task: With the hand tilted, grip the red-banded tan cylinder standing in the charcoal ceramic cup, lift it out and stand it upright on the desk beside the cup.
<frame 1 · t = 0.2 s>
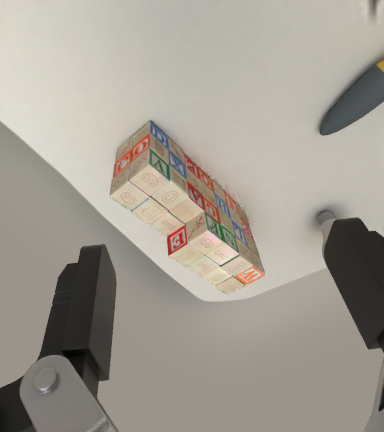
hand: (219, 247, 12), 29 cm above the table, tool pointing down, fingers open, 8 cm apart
stack of blocks: (187, 183, 47), on the table
lightbulb: (323, 212, 53), on the table
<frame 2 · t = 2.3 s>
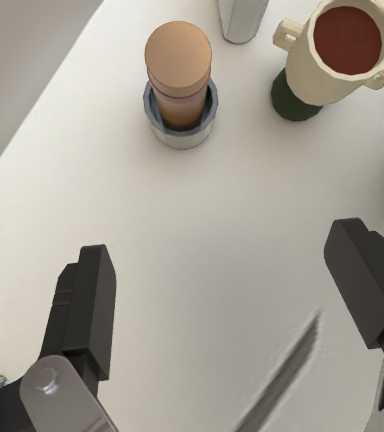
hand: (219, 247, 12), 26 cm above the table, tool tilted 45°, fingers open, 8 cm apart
red-banded tan cylinder: (181, 117, 37), resting on cup
photo printer: (234, 1, 38), on the table
character mug: (295, 95, 38), on the table
cup: (181, 119, 38), on the table
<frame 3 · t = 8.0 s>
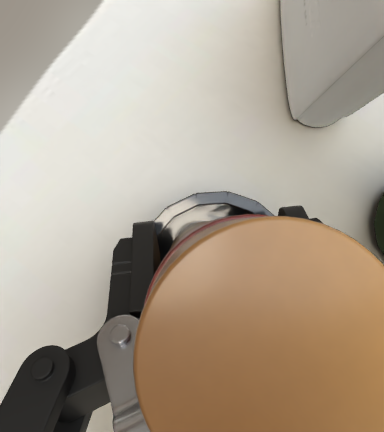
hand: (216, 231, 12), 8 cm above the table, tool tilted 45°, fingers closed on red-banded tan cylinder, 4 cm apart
red-banded tan cylinder: (206, 258, 20), point 1 cm above the table, touching cup, gripper
photo printer: (310, 51, 21), on the table
cup: (206, 257, 21), on the table
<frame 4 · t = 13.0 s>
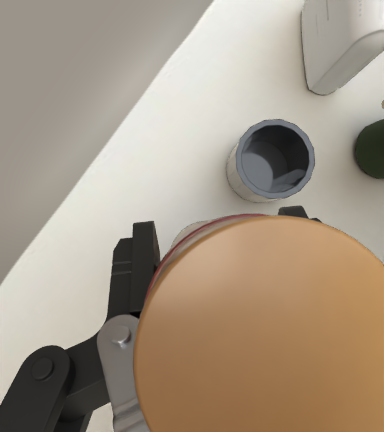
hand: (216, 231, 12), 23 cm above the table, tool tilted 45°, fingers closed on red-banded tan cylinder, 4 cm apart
red-banded tan cylinder: (206, 258, 20), point 15 cm above the table, touching gripper
photo printer: (318, 50, 36), on the table
character mug: (378, 151, 36), on the table
cup: (258, 170, 36), on the table
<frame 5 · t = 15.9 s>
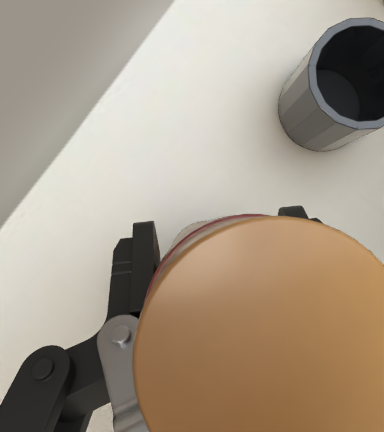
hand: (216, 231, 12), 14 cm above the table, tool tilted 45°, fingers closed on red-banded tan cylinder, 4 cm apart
red-banded tan cylinder: (206, 258, 20), point 7 cm above the table, touching gripper
cup: (320, 108, 27), on the table
when the fingers open (8 cm above the table, at t = 18.2 s): red-banded tan cylinder stays where it is, on the table.
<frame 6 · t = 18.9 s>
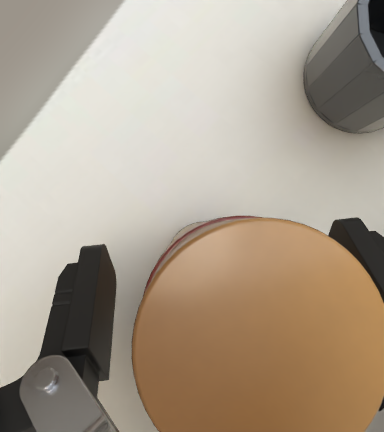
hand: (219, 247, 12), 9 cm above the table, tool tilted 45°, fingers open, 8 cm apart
red-banded tan cylinder: (204, 258, 21), on the table
cup: (357, 79, 21), on the table
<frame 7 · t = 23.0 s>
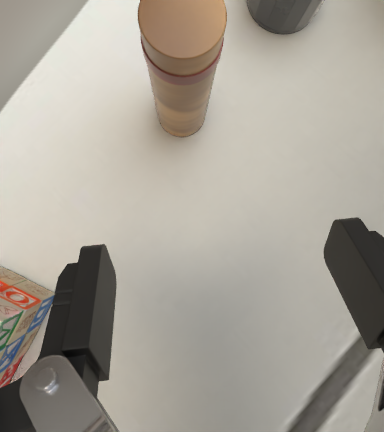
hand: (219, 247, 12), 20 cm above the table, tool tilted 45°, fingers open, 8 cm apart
red-banded tan cylinder: (181, 113, 32), on the table
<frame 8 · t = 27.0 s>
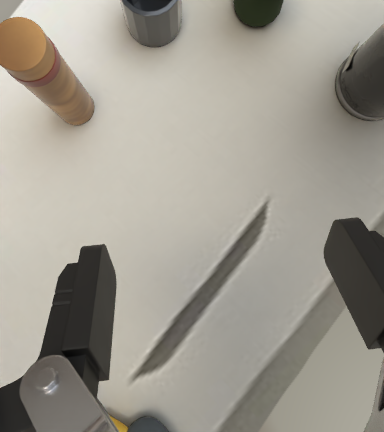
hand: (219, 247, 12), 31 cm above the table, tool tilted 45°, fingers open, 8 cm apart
red-banded tan cylinder: (76, 107, 42), on the table
character mug: (255, 7, 43), on the table
paintbrush: (107, 422, 42), on the table
cup: (154, 20, 43), on the table
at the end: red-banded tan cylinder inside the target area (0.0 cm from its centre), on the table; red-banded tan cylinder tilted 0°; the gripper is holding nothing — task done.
